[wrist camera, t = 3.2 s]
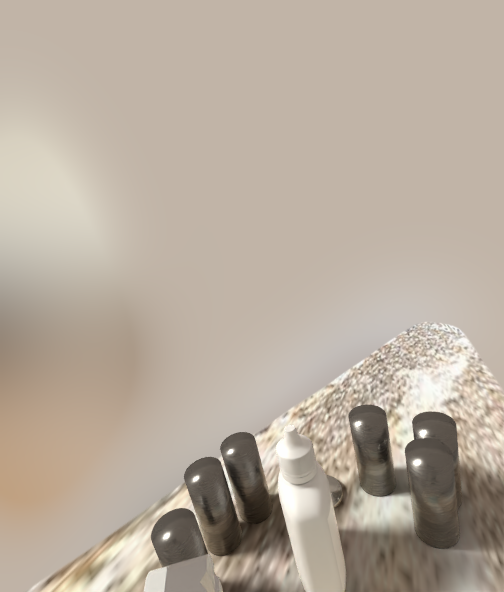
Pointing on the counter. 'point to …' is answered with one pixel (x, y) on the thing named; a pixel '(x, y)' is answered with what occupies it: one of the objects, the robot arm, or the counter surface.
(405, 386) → the counter surface
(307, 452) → the eye dropper bottle
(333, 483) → the grey flat disc
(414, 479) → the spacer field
